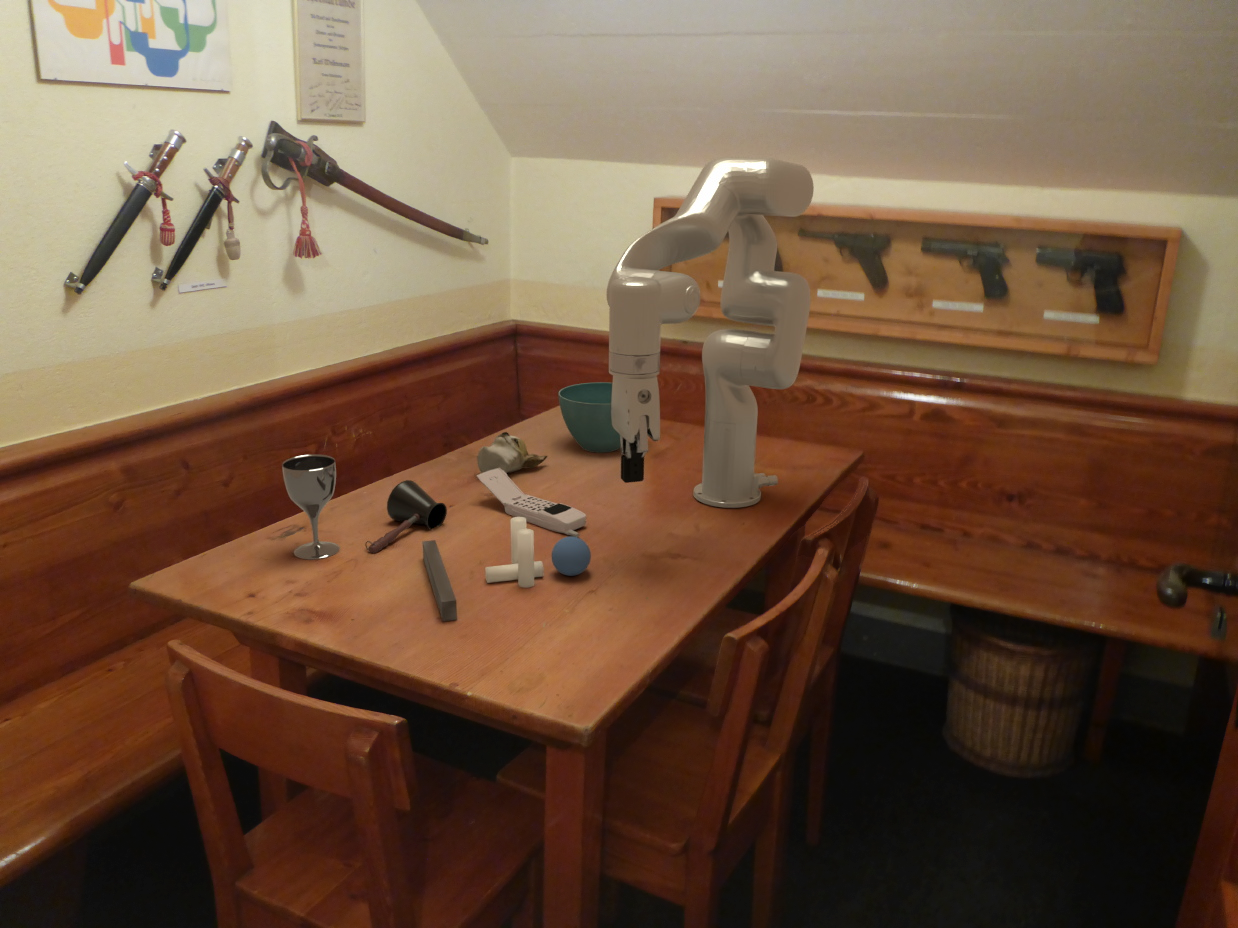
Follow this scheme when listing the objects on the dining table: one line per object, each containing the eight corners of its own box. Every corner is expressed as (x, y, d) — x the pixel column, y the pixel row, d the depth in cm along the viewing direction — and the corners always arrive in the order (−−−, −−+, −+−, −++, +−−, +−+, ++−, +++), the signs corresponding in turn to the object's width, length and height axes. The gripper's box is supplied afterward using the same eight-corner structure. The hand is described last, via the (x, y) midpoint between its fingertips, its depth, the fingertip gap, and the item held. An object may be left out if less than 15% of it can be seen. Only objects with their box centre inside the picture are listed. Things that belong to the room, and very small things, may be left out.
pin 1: (525, 566, 153) (524, 516, 150) (528, 572, 151) (527, 521, 148) (510, 568, 152) (508, 517, 149) (513, 574, 150) (512, 523, 147)
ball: (538, 548, 150) (563, 569, 154) (550, 569, 145) (575, 590, 149) (567, 522, 150) (590, 543, 153) (579, 541, 145) (603, 563, 149)
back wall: (436, 557, 156) (435, 540, 155) (457, 619, 136) (456, 600, 135) (423, 558, 155) (422, 541, 154) (442, 621, 135) (441, 602, 134)
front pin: (540, 558, 150) (485, 564, 148) (543, 565, 148) (487, 571, 146) (540, 572, 151) (485, 578, 149) (543, 579, 149) (488, 585, 146)
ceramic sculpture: (462, 434, 190) (508, 420, 202) (461, 476, 192) (507, 461, 205) (506, 443, 185) (550, 429, 197) (505, 487, 187) (549, 470, 200)
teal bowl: (612, 465, 200) (613, 408, 196) (541, 450, 209) (541, 394, 206) (658, 444, 215) (659, 390, 211) (590, 430, 224) (590, 378, 220)
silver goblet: (314, 564, 152) (306, 473, 148) (280, 553, 156) (271, 464, 152) (352, 547, 159) (346, 460, 154) (319, 537, 163) (311, 451, 158)
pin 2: (532, 579, 148) (531, 527, 146) (536, 586, 146) (535, 533, 143) (516, 581, 148) (515, 529, 145) (520, 588, 145) (519, 535, 143)
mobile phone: (498, 466, 181) (597, 498, 166) (499, 496, 183) (597, 530, 168) (473, 474, 177) (572, 508, 161) (474, 505, 179) (573, 541, 163)
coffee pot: (417, 508, 175) (452, 525, 171) (340, 552, 162) (376, 572, 158) (415, 472, 171) (451, 488, 167) (336, 515, 158) (373, 533, 154)
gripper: (676, 372, 138) (672, 494, 144) (642, 351, 152) (639, 463, 157) (625, 375, 136) (623, 499, 142) (595, 353, 149) (594, 467, 155)
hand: (632, 480), depth 150 cm, fingers closed
